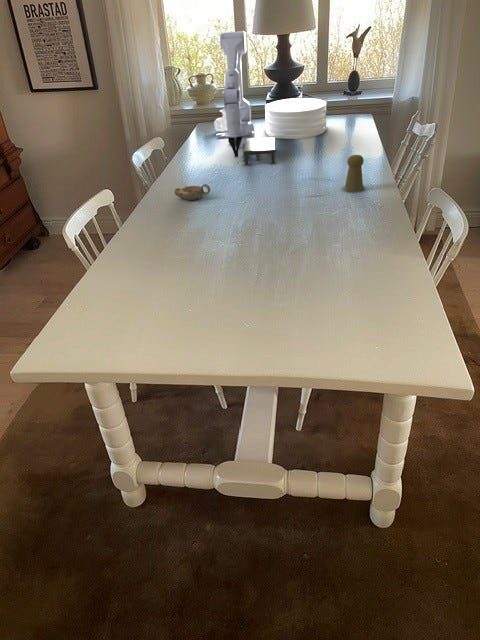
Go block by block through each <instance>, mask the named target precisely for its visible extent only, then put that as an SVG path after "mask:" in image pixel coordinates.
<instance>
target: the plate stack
mask: <svg viewBox="0 0 480 640" xmlns="http://www.w3.org/2000/svg"><path fill="white" fill-rule="evenodd" d="M327 107H328V106H327V101H326V100H324V99H320V98H313V97H312V98H311V97H297V98H296V97H295V98H294V97H293V98H285V99H280V100H275V101H271V102H269V103H267V104H266V105H264V111H265V112H264V114H265V134H266V135H267V136H269V137H275V139H281V140H282V139H283V140H298V139H307V138H312V137H317V136H319V135H322V134H324V133H325V132H326V130H327Z"/></svg>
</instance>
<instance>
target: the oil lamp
mask: <svg viewBox="0 0 480 640" xmlns="http://www.w3.org/2000/svg"><path fill="white" fill-rule="evenodd" d="M204 188H206V189H207V191H204ZM173 192H174V195H175V196H176V197H178V198H181V199H184V200H187V201H196V200H198V199H200V198H202V196H203V195H205V196H206V195H208V194H210V192H211V187H210V185H209V184H207V183H204V184H202V185H201V186H200V185H189V186H187V185H186V186H184V187H177V188H175V189H174V190H173Z"/></svg>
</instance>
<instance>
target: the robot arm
mask: <svg viewBox="0 0 480 640" xmlns="http://www.w3.org/2000/svg"><path fill="white" fill-rule="evenodd" d="M246 36H247V35H246V32H245V31H244V30H241V31H227V32H221V33H220V34H219V45H220V49H221V51H222V53H223V55H224V56H226V64H227V65H226V66H227V70H226V71H225V72H224V88H223V89H224V90H223V91H222V102H223V108H225V110H226V121H227V131H225V132H220V133H216V140H217V141H220V140H228V145H229V146H230V147H231V149H232V152H233V155H234V158H239V152H240V151H239V150H240V148H243V142H245V141H246V139H252V138H256V136H255V126H254V123H253V122H251V121H252V108H251V104H250V102H249V101H248V100H247V99H245V98H244V87H243V72H242V70H243V69H242V59H243V58H242V57H243V55H245V54H246V53H247V37H246Z"/></svg>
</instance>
